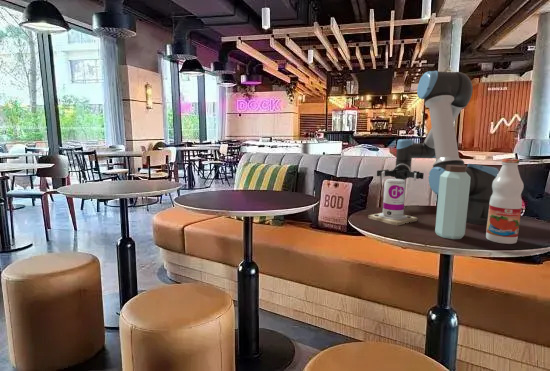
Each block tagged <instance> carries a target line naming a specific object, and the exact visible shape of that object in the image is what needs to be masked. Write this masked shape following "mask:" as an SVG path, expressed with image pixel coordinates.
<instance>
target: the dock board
mask: <svg viewBox="0 0 550 371" xmlns="http://www.w3.org/2000/svg"><path fill="white" fill-rule="evenodd" d="M367 219H369V220H374V221H377V222H381V223H384V224H388V225H389V224H390V225H393V226H401V225H405V223H406V224H409V222H410V223H413V222H418V217H417V216H411V215H406V214H403V216H402V217H398V218H393V217H387V216H384V214H383V212H379V213H374V214H373V213H372V214H368V215H367Z"/></svg>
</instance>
